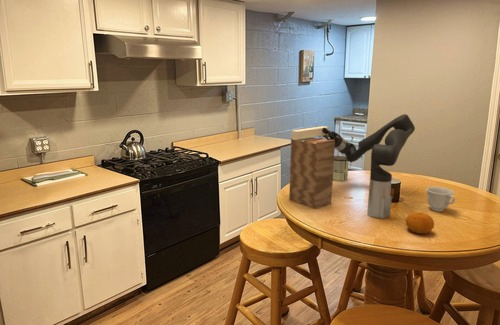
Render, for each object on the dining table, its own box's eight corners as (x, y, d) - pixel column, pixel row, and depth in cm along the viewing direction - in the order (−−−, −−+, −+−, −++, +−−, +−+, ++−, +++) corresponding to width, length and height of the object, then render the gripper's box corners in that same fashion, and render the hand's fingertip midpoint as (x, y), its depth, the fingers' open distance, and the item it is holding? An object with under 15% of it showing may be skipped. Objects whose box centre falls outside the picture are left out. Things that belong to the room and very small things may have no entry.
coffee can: (329, 177, 230) (330, 155, 227) (345, 177, 229) (347, 156, 226) (331, 181, 221) (332, 159, 217) (348, 182, 220) (350, 159, 216)
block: (328, 134, 188) (329, 127, 187) (297, 139, 173) (297, 131, 173) (322, 133, 191) (323, 126, 190) (291, 138, 177) (291, 130, 176)
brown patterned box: (331, 203, 182) (335, 140, 174) (315, 209, 175) (318, 142, 167) (304, 194, 196) (307, 135, 188) (289, 199, 188) (291, 137, 181)
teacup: (441, 217, 165) (443, 197, 162) (418, 206, 178) (420, 187, 176) (462, 215, 168) (465, 194, 165) (438, 204, 182) (440, 185, 179)
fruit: (424, 225, 156) (426, 208, 154) (437, 236, 145) (440, 218, 143) (400, 226, 155) (402, 208, 153) (412, 236, 145) (414, 218, 143)
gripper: (344, 149, 191) (327, 136, 180) (323, 145, 202) (306, 133, 191) (349, 137, 192) (333, 123, 181) (328, 133, 202) (311, 120, 191)
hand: (319, 128), depth 186 cm, fingers closed on block, 4 cm apart
